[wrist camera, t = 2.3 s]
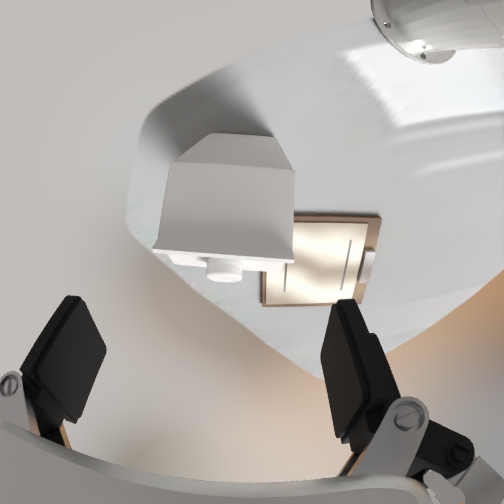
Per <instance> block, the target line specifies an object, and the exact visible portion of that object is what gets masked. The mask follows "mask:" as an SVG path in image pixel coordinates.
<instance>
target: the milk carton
mask: <svg viewBox="0 0 504 504" xmlns="http://www.w3.org/2000/svg"><path fill="white" fill-rule="evenodd" d="M294 183H295V171H294V170H293V168H292V166H291V164H290V163H289V161H288V159H287V157H286V155H285V154H284V152H283V150H282V148H281V146H280V145H279V143H278V141H277V139H276V138H275V137H268V136H257V135H244V134H228V133H210V134H208V135H207V136H206V137H204V138H203V139H202V140H200V141H199V142H198V143H196V144H195V145H194V146H192V147H191V148H190V149H188V150H187V151H186V152H185V153H183V154H182V155H181V156H179V157H178V158H177V159H176V160H174V161H173V162H172V163H170V168H169V173H168V178H167V184H166V189H165V195H164V201H163V207H162V213H161V219H160V226H159V233H158V239H157V241H156V243H155V244H154V246H153V248H152V252H154V253H163V254H167V255H168V256H169V257H170V259H171V260H172V261H173V263H174V264H179V265H189V266H201V267H207V268H206V277H207V278H208V279H210V280H213V281H218V282H238V281H240V280H241V279H242V270H252V271H265V272H280V271H281V269H282V267H283V266H284V264H285V263H294V261H295V259H294V254H293V250H292V248H293V222H294Z"/></svg>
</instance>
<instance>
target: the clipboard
mask: <svg viewBox="0 0 504 504" xmlns="http://www.w3.org/2000/svg"><path fill="white" fill-rule="evenodd" d="M381 220H382V218H381V217H377V216H348V215H294V222H293V248H292V250H293V254H294V259H295V261H294V263H285V264H284V266H283V267H282V269H281V271H280V272H265V271H263V278H262V307H296V306H326V305H333V304H337V301H338V300H339V299H355V301H356V303H357V304H361V302H362V299H363V295H364V292H365V288H366V284H367V283H368V281H369V277H370V273H371V270H372V266H373V262H374V258H375V253H376V252H375V248H376V244H377V239H378V235H379V230H380V225H381Z"/></svg>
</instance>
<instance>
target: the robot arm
mask: <svg viewBox="0 0 504 504" xmlns="http://www.w3.org/2000/svg"><path fill="white" fill-rule="evenodd" d="M371 9H372V12H373V16H374V18H375V21H376V23H377V25H378V27H379V28H380V30H381V31H382V33H383V34H384V36H385V37H386V38H387V39H388V40H389V42H390V43H391V44H392V45H393V46H395V47H396V48H397V49H398V50H399V51H400V52H402V53H403V54H404V55H406V56H408V57H409V58H411V59H413V60H415V61H418V62H421V63H425V64H440V63H444V62H446V61H448V60H450V59H451V58H452V57H453V56H454V54H455V53H456V50H463V49H486V48H503V49H504V0H371ZM385 26H386V27H385ZM105 355H106V345H105V343H104V341H103V339H102V337H101V335H100V333H99V331H98V329H97V327H96V325H95V323H94V321H93V319H92V317H91V315H90V312H89V310H88V308H87V306H86V303H85V302H84V301H83V300H82V299H81V297H79V296H70V295H68V296H66V297H65V298H64V300H63V301H62V303H61V304H60V305H59V307H58V308H57V310H56V311H55V313H54V314H53V315H52V317H51V318H50V320H49V321H48V323H47V325H46V326H45V328H44V329H43V331H42V332H41V334H40V335H39V337H38V339H37V340H36V342H35V343H34V345H33V347H32V348H31V350H30V352H29V354H28V356H27V357H26V359H25V361H24V362H23V364H22V366H21V368H20V371H21V372H22V373H23V375H22V377H21V375H20V374H19V373H17V372H15V371H10V372H7V373H6V374H4V375H3V376H2V377H1V379H0V504H433V503H432V500H431V498H430V496H429V494H428V492H427V490H426V488H430V489H431V490H432V491H433V492H434V493H435V494H436V495H435V497H436V498H437V499H438V500H439V502H440V503H441V504H500V503H501V502H502V500H503V498H504V479H503V478H502V477H501V476H500V475H499V474H497V472H496V471H495V470H493V468H492V467H490V466H489V465H488V464H487V463H486V462H485V461H484V460H483V459H482V458H481V457H480V456H478V457H477V458H476V457H475V456H474V453H475V452H474V446H473V443H472V442H471V441H470V439H468V438H467V437H465V436H463V435H461V434H459V433H457V432H454V431H452V430H450V429H448V428H446V427H444V426H442V425H440V424H438V423H436V422H434V421H432V420H430V419H429V412H428V410H427V407H426V406H425V405H424V404H423V402H422V401H420V400H418V399H417V398H414V397H402V398H401V396H400V393H399V390H398V387H397V385H396V382H395V379H394V377H393V374H392V372H391V369H390V366H389V364H388V361H387V359H386V356H385V354H384V351H383V349H382V346H381V344H380V342H379V339H378V337H377V335H376V334H374V333H369V331H368V329H367V326H366V324H365V321H364V319H363V317H362V314H361V312H360V310H359V307H358V305H357V303H356V301H355V299H339V300H338V301H337V304H333V305H332V307H331V312H330V316H329V321H328V325H327V329H326V333H325V338H324V342H323V346H322V349H321V355H320V356H321V364H322V369H323V374H324V379H325V383H326V389H327V393H328V399H329V403H330V409H331V414H332V420H333V425H334V430H335V435H336V437H337V438H341V443H342V444H346V443H350V447H351V451H352V452H353V453H352V455H351V456H350V458H349V459H348V461H347V462H346V464H345V465H344V466H343V468H342V469H341V471H340V472H339V474H338V475H337V476H336V477H333V478H323V479H314V480H304V481H291V482H270V483H234V482H215V481H204V480H194V479H186V478H179V477H172V476H166V475H160V474H155V473H150V472H145V471H140V470H136V469H132V468H128V467H124V466H120V465H117V464H113V463H109V462H106V461H103V460H100V459H97V458H94V457H90V456H88V455H85V454H82V453H79V452H77V451H74V450H72V448H71V445H70V442H69V440H68V437H67V434H66V431H65V428H64V425H63V419H65V420H66V421H69V422H72V423H75V424H76V423H77V420H78V418H80V417H81V415H82V413H83V410H84V407H85V405H86V402H87V399H88V396H89V394H90V391H91V389H92V386H93V384H94V381H95V379H96V376H97V374H98V371H99V369H100V367H101V364H102V362H103V359H104V357H105Z"/></svg>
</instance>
